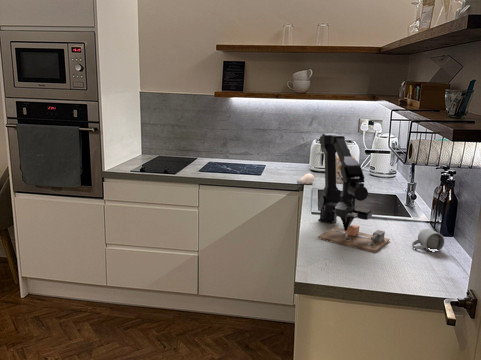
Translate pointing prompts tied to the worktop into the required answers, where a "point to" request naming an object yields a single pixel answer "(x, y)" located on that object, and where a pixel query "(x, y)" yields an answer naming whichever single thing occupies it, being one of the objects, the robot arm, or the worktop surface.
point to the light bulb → (306, 179)
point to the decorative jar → (338, 171)
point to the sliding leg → (352, 230)
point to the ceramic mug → (429, 240)
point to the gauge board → (356, 239)
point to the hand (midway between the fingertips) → (346, 230)
